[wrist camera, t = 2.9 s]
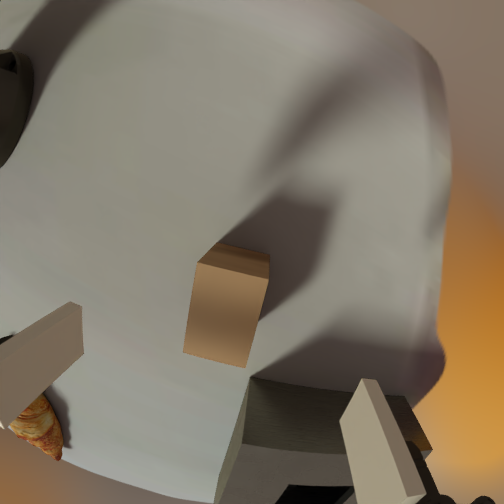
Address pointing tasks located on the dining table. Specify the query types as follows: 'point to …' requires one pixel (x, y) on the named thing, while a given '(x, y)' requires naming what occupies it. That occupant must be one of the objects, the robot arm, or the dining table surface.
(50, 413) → the croissant
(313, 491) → the box
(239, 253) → the brown block
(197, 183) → the dining table surface
